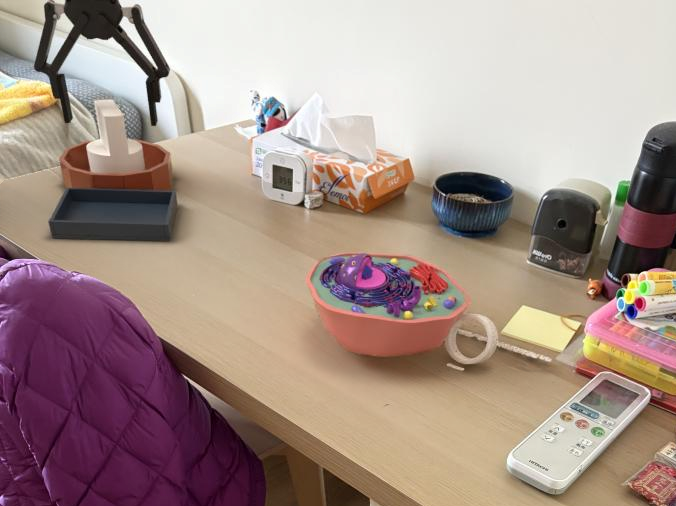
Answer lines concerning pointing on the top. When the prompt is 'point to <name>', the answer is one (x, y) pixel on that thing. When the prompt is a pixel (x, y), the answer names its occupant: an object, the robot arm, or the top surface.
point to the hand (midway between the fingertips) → (112, 122)
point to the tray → (114, 214)
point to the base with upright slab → (113, 143)
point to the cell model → (385, 302)
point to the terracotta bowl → (152, 179)
